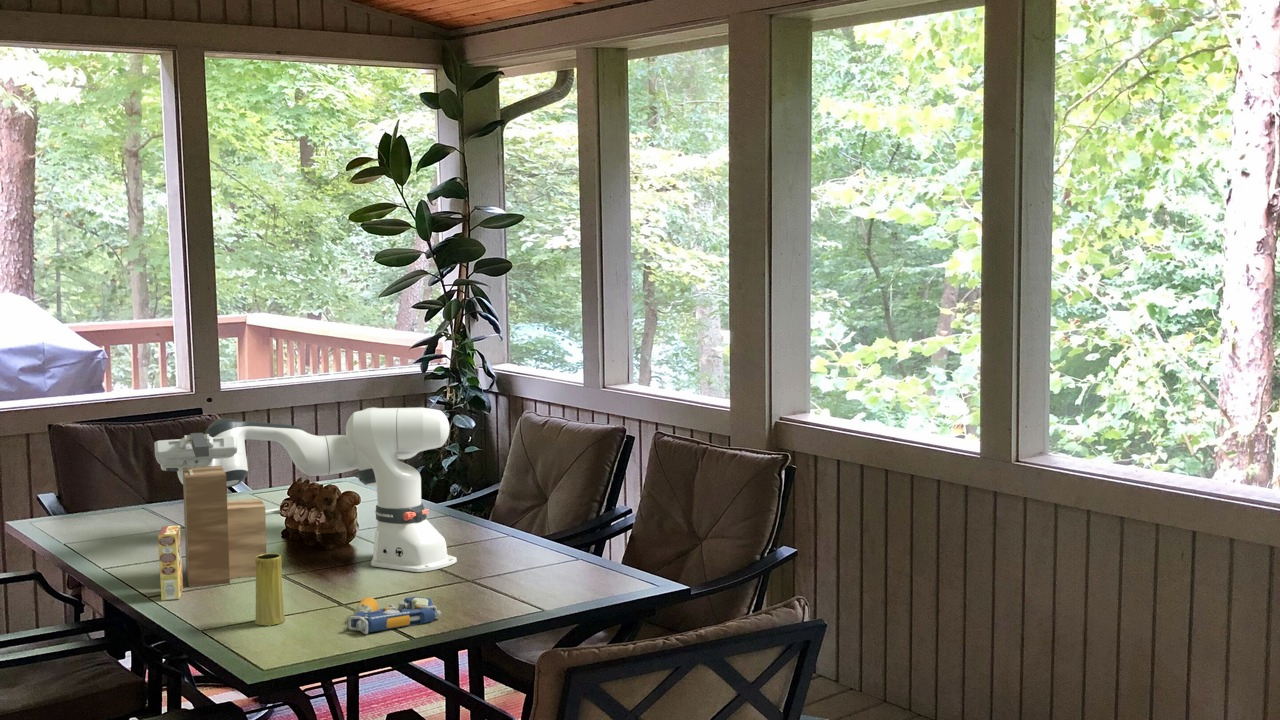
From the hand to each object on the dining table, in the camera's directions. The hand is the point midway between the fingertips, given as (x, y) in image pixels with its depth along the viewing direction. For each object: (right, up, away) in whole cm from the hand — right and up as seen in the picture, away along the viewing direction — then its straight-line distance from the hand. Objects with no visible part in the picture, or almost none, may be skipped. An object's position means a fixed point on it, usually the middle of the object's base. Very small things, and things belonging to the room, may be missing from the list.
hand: (197, 437), depth 310 cm
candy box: (+5, -34, -31) cm, 46 cm away
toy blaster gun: (+59, -36, -50) cm, 86 cm away
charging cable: (+1, -27, +56) cm, 62 cm away
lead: (+4, -2, -8) cm, 9 cm away
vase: (+34, -36, -51) cm, 71 cm away
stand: (+12, -33, -14) cm, 38 cm away
